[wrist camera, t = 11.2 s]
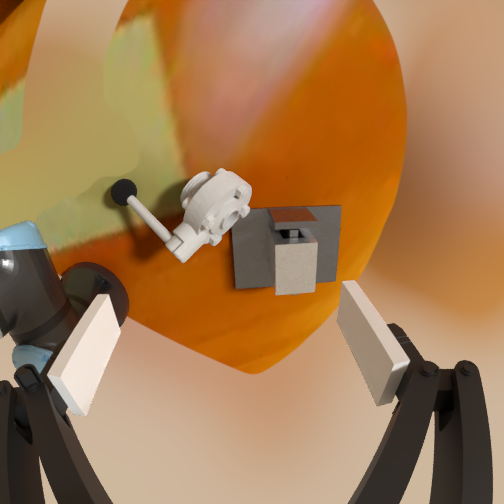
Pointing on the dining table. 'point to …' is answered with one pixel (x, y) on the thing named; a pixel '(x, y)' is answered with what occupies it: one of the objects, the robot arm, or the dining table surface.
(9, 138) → the dining table surface
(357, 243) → the dining table surface
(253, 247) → the dark grey angled piece
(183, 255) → the valve
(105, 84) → the dining table surface
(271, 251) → the hollow grey box
